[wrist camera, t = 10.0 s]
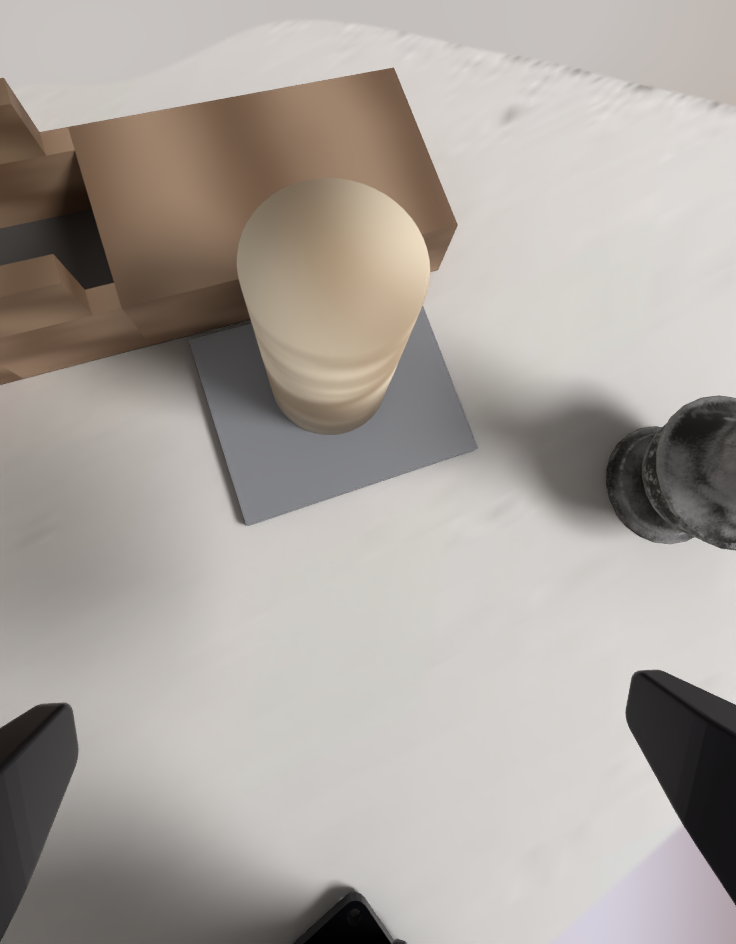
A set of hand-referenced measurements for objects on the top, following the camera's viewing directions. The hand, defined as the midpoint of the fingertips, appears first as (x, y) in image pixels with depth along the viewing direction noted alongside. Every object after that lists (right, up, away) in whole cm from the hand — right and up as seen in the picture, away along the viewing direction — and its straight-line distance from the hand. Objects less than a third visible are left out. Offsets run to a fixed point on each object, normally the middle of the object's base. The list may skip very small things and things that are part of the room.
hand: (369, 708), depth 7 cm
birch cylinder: (-2, +8, +12) cm, 14 cm away
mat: (-1, +7, +12) cm, 14 cm away
